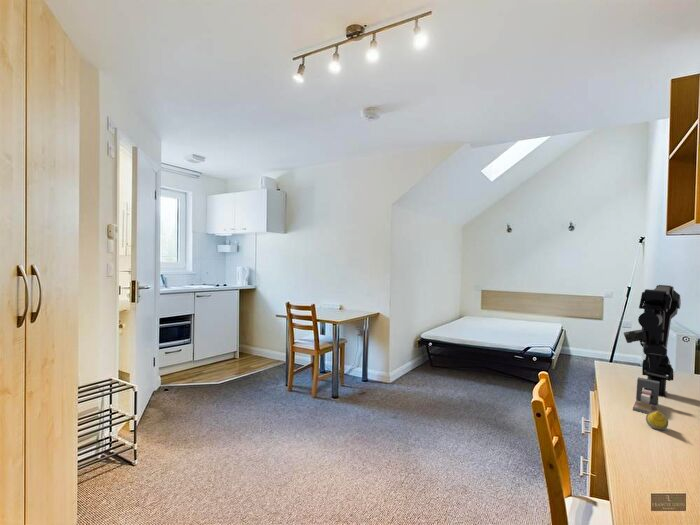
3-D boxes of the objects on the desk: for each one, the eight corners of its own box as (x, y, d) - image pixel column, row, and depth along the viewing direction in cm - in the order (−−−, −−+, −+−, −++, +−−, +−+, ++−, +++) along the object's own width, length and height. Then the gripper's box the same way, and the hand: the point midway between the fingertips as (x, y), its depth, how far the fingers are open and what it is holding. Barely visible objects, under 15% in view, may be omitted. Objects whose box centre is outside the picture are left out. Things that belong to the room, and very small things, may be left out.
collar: (636, 397, 140) (638, 377, 139) (658, 402, 136) (659, 381, 135) (636, 399, 137) (637, 379, 137) (657, 404, 133) (658, 383, 133)
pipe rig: (637, 399, 141) (638, 384, 141) (658, 404, 137) (659, 388, 137) (632, 410, 131) (633, 394, 130) (655, 415, 127) (656, 399, 126)
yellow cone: (671, 430, 117) (674, 416, 111) (653, 436, 118) (655, 422, 112) (659, 414, 121) (661, 400, 115) (641, 419, 122) (642, 405, 116)
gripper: (624, 317, 149) (622, 357, 150) (627, 326, 134) (624, 370, 135) (661, 321, 143) (658, 362, 144) (668, 331, 128) (665, 377, 129)
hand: (650, 367), depth 138 cm, fingers open, 9 cm apart
